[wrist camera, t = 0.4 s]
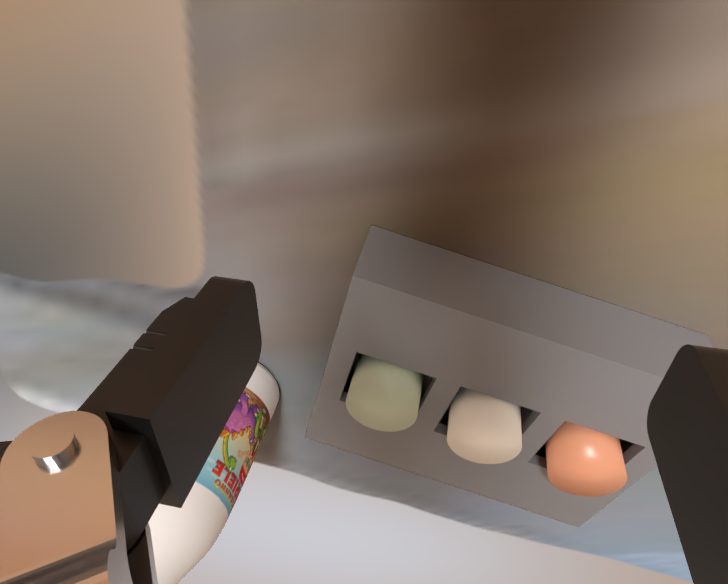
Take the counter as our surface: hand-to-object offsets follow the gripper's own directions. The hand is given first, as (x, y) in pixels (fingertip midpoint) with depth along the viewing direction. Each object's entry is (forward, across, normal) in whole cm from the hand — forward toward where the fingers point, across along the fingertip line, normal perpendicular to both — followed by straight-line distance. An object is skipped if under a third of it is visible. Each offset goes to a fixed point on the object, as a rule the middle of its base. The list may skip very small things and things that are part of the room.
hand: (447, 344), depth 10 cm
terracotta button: (+17, -10, +20) cm, 28 cm away
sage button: (+16, +3, +17) cm, 24 cm away
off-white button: (+17, -4, +18) cm, 25 cm away
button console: (+19, -4, +18) cm, 27 cm away
